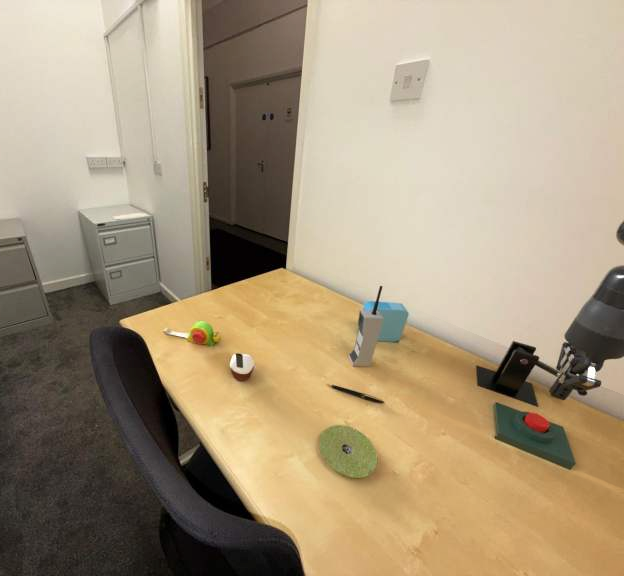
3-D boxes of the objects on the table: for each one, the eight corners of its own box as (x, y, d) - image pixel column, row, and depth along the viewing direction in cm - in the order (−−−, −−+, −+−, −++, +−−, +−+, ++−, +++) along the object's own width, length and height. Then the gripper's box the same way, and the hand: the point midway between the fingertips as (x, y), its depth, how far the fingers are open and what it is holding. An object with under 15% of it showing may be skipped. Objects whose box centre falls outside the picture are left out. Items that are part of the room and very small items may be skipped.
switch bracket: (529, 386, 79) (554, 348, 73) (536, 409, 72) (563, 370, 66) (474, 368, 84) (493, 331, 78) (475, 388, 78) (496, 349, 72)
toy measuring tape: (216, 351, 89) (215, 333, 86) (159, 337, 95) (157, 320, 91) (224, 339, 95) (223, 321, 91) (170, 326, 100) (168, 310, 97)
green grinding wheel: (387, 473, 58) (390, 467, 57) (337, 490, 55) (339, 485, 54) (352, 425, 67) (354, 419, 67) (308, 437, 65) (309, 431, 64)
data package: (394, 334, 98) (404, 303, 92) (399, 342, 94) (410, 310, 89) (357, 331, 99) (364, 300, 94) (360, 339, 95) (368, 307, 90)
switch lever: (574, 382, 72) (584, 377, 70) (581, 397, 68) (591, 392, 66) (510, 348, 76) (518, 342, 75) (513, 360, 72) (521, 354, 71)
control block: (558, 433, 66) (567, 421, 65) (570, 470, 59) (581, 458, 57) (491, 407, 72) (498, 396, 70) (494, 439, 65) (502, 427, 63)
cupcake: (240, 362, 85) (241, 327, 80) (259, 370, 82) (261, 335, 77) (220, 382, 78) (220, 346, 72) (241, 393, 75) (241, 356, 70)
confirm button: (544, 423, 64) (548, 417, 64) (547, 435, 62) (551, 430, 61) (522, 415, 66) (526, 409, 65) (525, 427, 64) (528, 421, 63)
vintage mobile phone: (348, 357, 88) (366, 282, 76) (365, 358, 87) (386, 282, 76) (352, 366, 84) (371, 289, 72) (369, 367, 84) (392, 289, 72)
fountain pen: (324, 387, 77) (325, 383, 77) (325, 384, 78) (326, 380, 78) (384, 406, 72) (385, 401, 72) (384, 402, 73) (385, 398, 73)
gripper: (657, 354, 45) (593, 429, 53) (623, 314, 55) (573, 383, 63) (588, 337, 49) (537, 409, 57) (567, 302, 58) (526, 369, 67)
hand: (556, 395), depth 60 cm, fingers closed
